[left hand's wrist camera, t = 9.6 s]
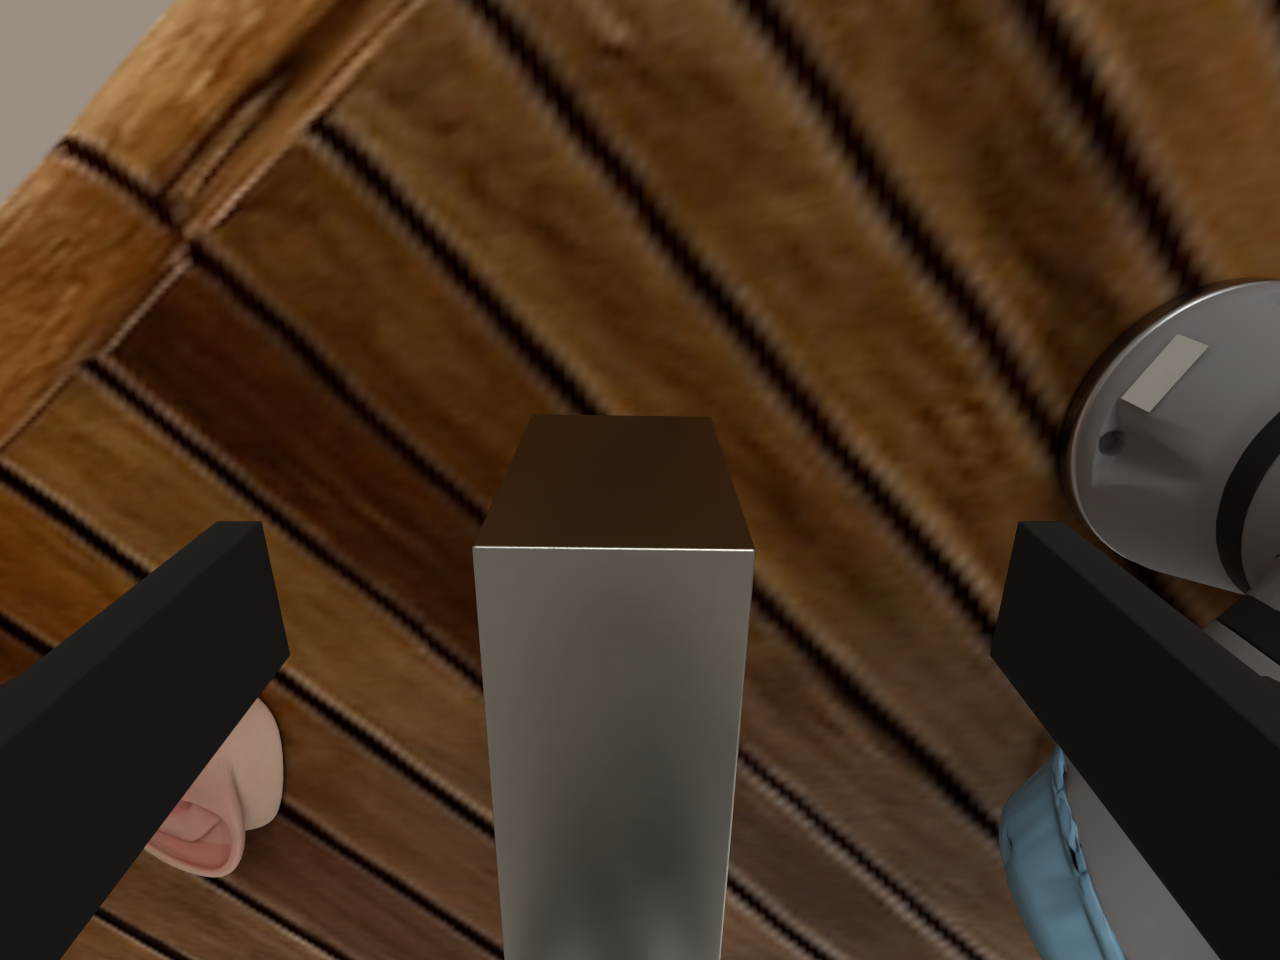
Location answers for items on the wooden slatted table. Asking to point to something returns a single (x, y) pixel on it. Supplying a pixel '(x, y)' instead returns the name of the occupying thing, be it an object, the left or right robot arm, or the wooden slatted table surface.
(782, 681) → the wooden slatted table surface
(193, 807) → the anatomical model
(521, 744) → the bar
